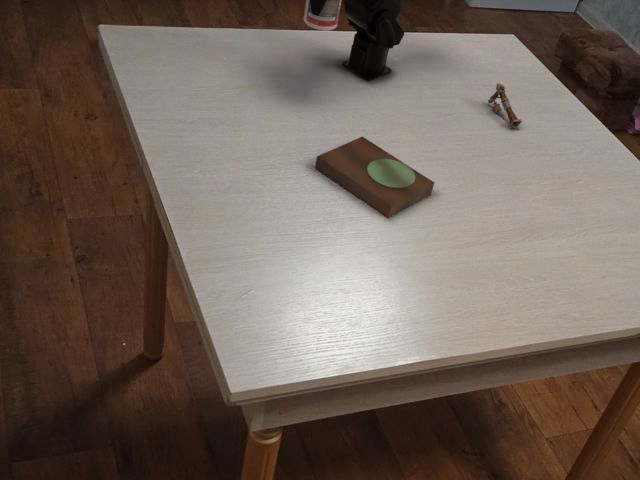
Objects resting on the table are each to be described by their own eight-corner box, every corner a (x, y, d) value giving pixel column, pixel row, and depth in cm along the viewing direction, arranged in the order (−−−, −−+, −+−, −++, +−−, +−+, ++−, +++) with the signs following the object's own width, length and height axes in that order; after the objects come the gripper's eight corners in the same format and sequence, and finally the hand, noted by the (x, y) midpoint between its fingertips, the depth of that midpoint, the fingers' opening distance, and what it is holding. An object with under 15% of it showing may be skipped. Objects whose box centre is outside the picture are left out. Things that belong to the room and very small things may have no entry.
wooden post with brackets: (491, 96, 143) (504, 79, 140) (509, 135, 142) (523, 120, 138) (482, 97, 143) (495, 80, 139) (500, 136, 141) (514, 121, 137)
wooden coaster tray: (360, 147, 125) (362, 134, 123) (431, 193, 120) (435, 181, 118) (314, 168, 118) (316, 155, 117) (388, 217, 114) (391, 204, 112)
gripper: (310, -131, 125) (297, -26, 135) (259, -102, 111) (248, 11, 122) (379, -108, 124) (360, -4, 134) (335, -76, 110) (318, 36, 121)
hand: (322, 8), depth 128 cm, fingers closed on pill bottle, 5 cm apart
